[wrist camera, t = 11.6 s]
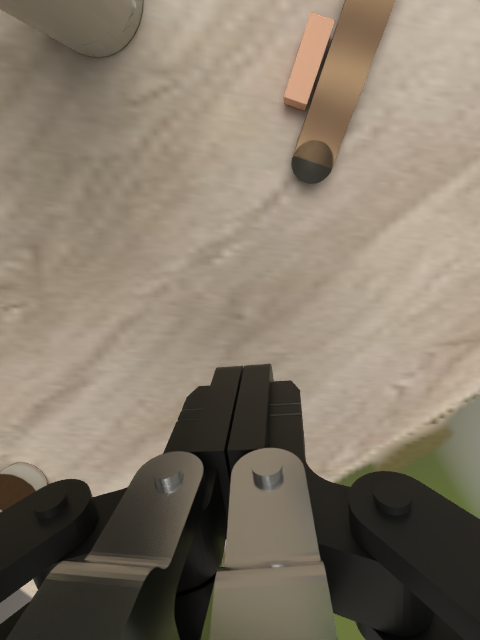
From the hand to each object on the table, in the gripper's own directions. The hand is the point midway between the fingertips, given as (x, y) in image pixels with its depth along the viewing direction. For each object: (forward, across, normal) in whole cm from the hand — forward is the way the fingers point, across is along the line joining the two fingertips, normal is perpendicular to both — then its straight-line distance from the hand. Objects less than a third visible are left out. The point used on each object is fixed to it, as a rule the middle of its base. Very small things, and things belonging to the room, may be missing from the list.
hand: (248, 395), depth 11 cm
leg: (+32, -8, -15) cm, 36 cm away
